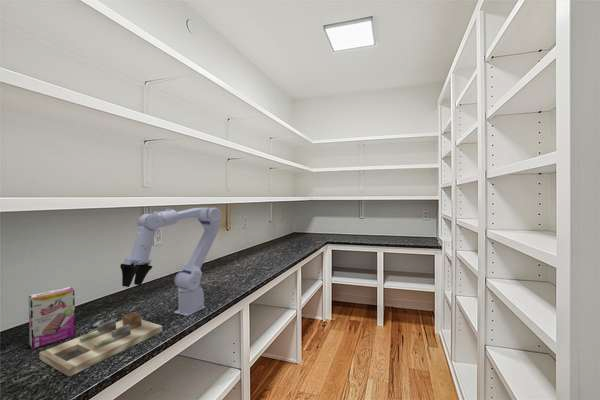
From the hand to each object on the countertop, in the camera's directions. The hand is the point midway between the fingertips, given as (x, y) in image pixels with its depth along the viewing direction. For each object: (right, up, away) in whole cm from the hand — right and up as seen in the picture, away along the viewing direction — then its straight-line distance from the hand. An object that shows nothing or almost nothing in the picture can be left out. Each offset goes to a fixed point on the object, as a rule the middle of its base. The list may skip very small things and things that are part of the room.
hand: (131, 285), depth 97 cm
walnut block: (0, -14, 0) cm, 14 cm away
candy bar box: (-24, -17, -4) cm, 30 cm away
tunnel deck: (-4, -17, -7) cm, 19 cm away
